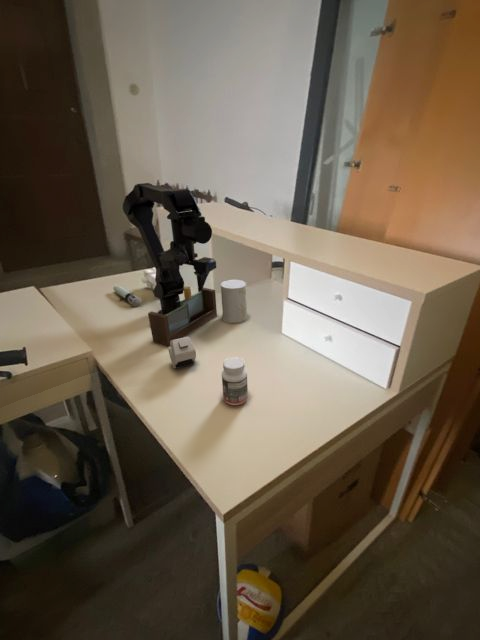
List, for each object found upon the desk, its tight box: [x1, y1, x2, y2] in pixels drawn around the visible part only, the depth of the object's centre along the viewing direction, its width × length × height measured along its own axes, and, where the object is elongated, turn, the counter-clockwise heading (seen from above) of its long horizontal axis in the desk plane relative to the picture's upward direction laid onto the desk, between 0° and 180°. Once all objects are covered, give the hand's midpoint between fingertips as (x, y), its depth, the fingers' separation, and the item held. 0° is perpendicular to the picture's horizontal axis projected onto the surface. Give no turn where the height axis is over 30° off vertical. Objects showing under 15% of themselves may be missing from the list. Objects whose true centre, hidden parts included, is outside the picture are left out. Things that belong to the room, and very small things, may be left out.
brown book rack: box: [147, 286, 218, 348], centre depth 110 cm, size 6×24×10 cm, turn 150°
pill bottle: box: [221, 356, 249, 406], centre depth 79 cm, size 6×6×10 cm
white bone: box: [141, 266, 156, 291], centre depth 137 cm, size 15×9×8 cm, turn 37°
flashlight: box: [112, 285, 142, 308], centre depth 132 cm, size 3×4×20 cm
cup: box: [220, 279, 248, 324], centre depth 116 cm, size 8×8×12 cm
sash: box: [180, 286, 204, 317], centre depth 113 cm, size 2×10×10 cm, turn 151°
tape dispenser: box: [168, 336, 197, 369], centre depth 92 cm, size 6×7×10 cm
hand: (188, 288), depth 109 cm, fingers open, 9 cm apart
